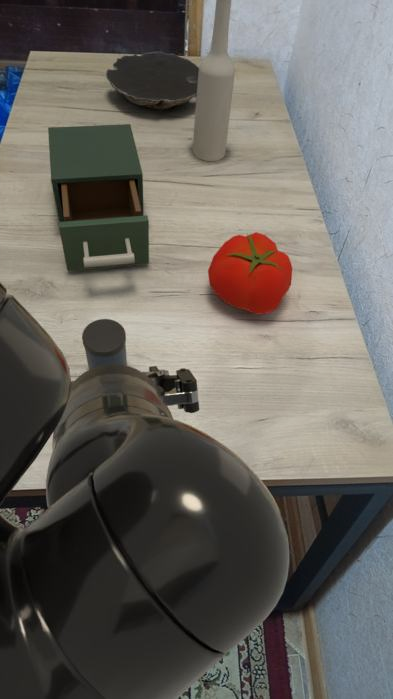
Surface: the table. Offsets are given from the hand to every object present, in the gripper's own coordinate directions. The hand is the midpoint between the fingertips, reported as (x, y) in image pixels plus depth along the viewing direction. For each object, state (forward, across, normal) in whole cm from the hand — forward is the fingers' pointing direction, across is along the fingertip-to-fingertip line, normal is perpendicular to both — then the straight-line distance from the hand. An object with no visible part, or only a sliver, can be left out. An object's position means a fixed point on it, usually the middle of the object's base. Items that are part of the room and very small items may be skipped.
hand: (109, 382), depth 48 cm
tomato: (+25, -22, -6) cm, 34 cm away
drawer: (+33, -2, -15) cm, 36 cm away
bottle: (+53, -25, -33) cm, 67 cm away
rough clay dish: (+69, -18, -49) cm, 87 cm away
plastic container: (+16, 0, +3) cm, 17 cm away
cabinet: (+43, -2, -23) cm, 49 cm away
